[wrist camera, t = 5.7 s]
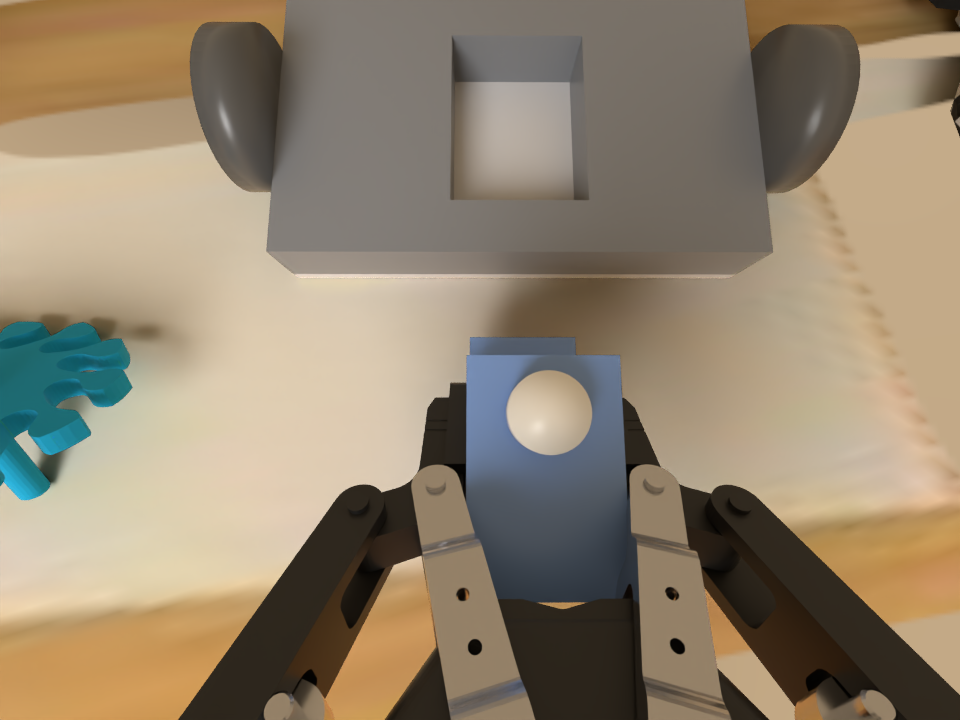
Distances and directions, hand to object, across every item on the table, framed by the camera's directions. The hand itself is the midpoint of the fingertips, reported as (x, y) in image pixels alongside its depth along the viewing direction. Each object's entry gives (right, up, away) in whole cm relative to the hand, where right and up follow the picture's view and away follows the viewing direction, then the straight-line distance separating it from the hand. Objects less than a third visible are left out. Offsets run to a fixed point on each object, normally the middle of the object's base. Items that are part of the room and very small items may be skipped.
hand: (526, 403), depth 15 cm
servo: (0, -3, +4) cm, 5 cm away
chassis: (0, +11, +6) cm, 13 cm away
